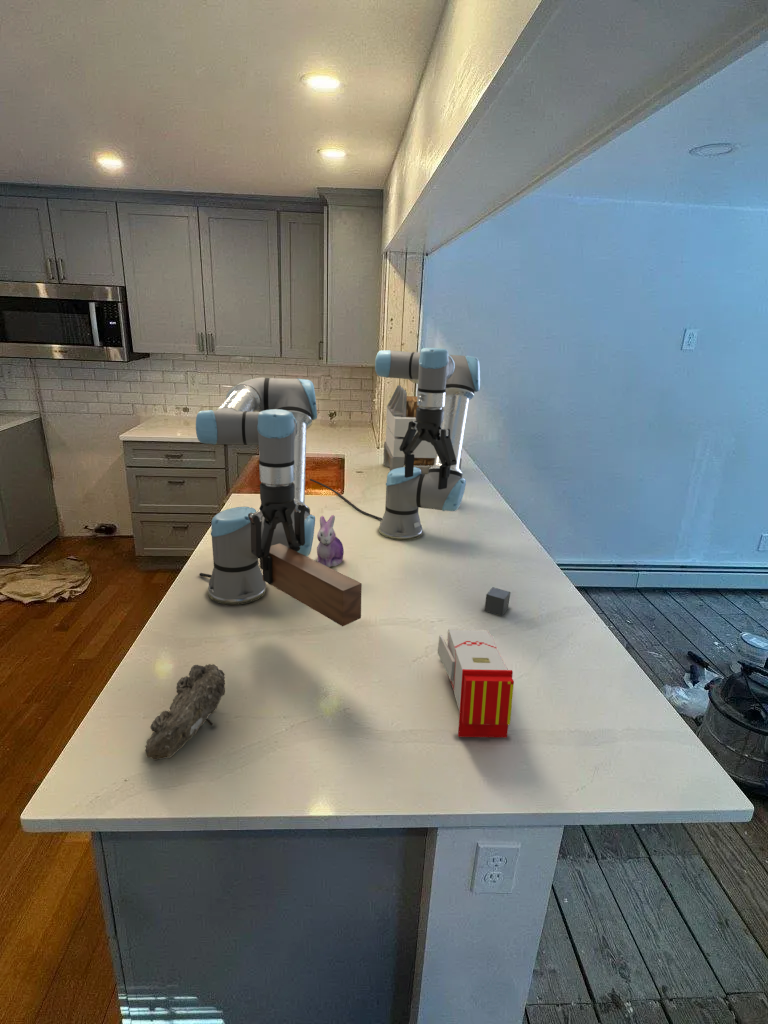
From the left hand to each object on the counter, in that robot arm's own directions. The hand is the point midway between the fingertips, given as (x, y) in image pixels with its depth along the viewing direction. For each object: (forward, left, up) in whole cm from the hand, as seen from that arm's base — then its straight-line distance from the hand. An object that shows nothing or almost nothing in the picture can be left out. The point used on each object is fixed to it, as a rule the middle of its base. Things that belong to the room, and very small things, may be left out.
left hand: (279, 578), depth 131 cm
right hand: (+26, +43, +14) cm, 52 cm away
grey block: (+50, +28, -15) cm, 59 cm away
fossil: (-3, -33, -15) cm, 37 cm away
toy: (+46, -9, -15) cm, 49 cm away
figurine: (-2, +42, -15) cm, 45 cm away
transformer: (+7, +153, -15) cm, 153 cm away
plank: (+9, -6, -1) cm, 11 cm away
